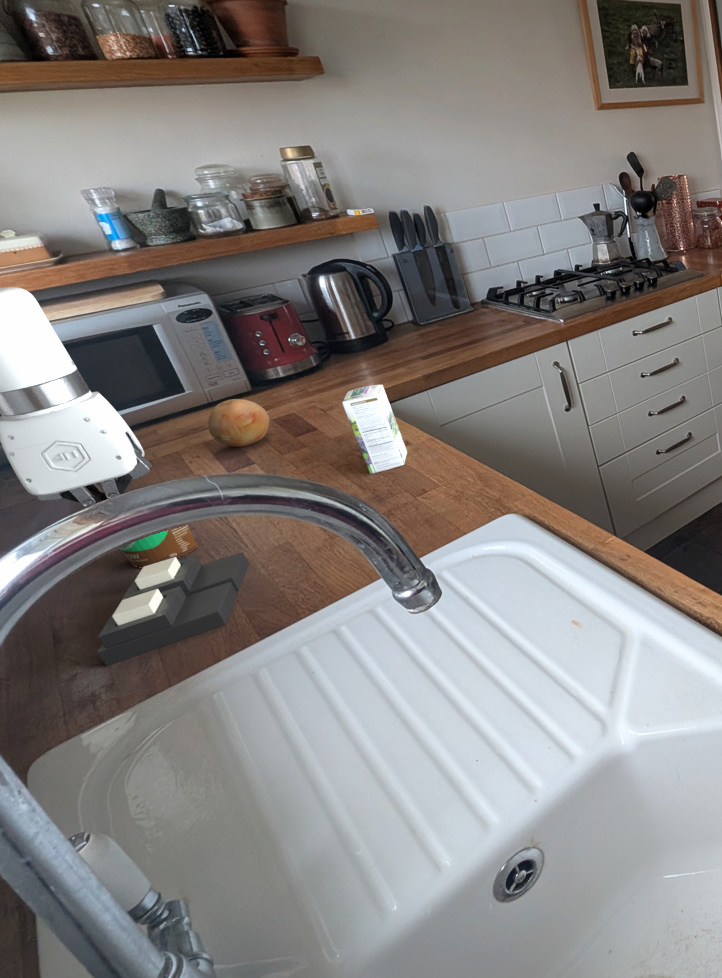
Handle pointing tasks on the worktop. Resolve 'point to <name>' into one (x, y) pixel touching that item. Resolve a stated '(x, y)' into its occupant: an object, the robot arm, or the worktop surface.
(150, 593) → the key front
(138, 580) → the key rear
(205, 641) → the worktop surface
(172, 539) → the food container
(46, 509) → the worktop surface
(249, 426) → the onion
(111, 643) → the key block
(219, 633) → the worktop surface
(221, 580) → the key block
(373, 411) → the syrup box
